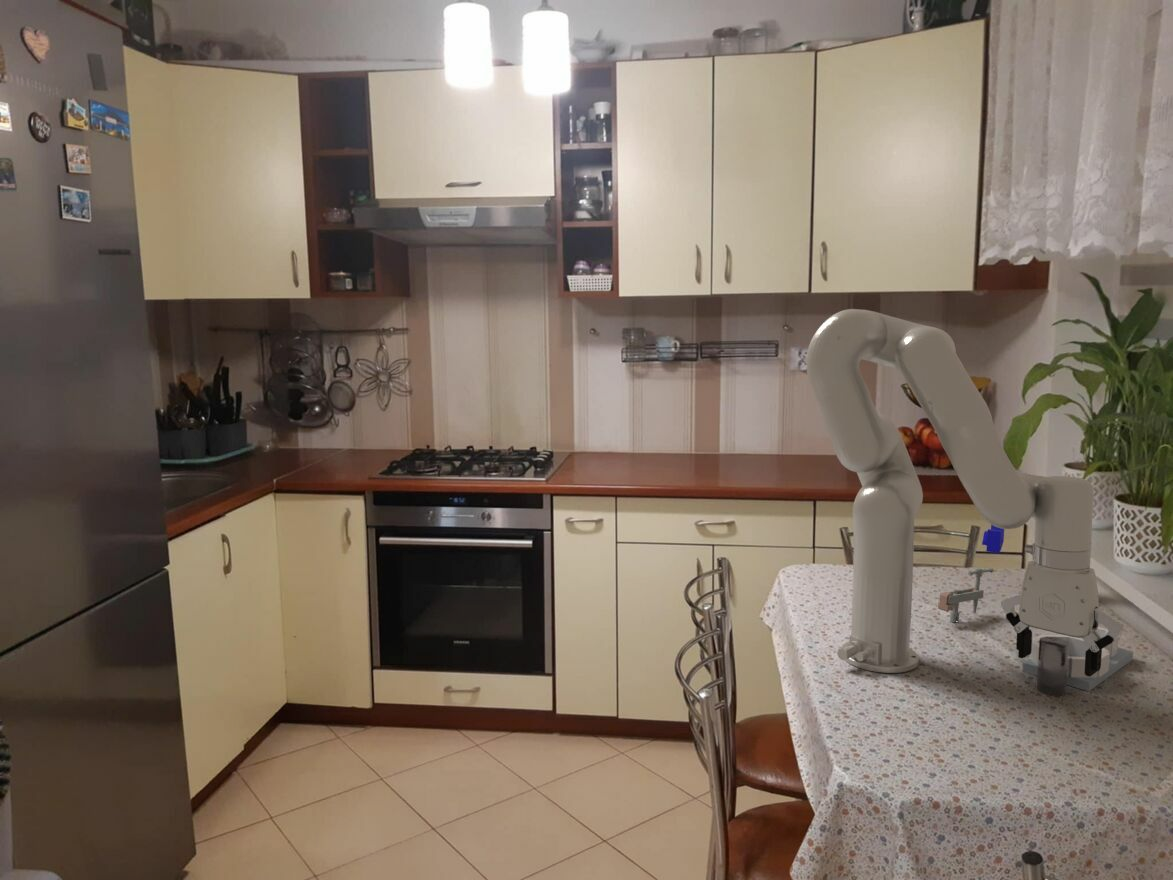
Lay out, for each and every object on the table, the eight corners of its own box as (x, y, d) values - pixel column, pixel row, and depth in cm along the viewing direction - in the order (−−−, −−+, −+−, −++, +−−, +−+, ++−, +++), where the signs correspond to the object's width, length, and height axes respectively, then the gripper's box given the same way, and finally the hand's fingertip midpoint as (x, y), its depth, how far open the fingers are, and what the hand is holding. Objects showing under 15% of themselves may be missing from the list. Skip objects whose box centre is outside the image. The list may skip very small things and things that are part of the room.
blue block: (984, 542, 219) (985, 519, 218) (1003, 544, 217) (1004, 521, 216) (979, 553, 209) (980, 529, 208) (999, 555, 207) (1001, 531, 206)
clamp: (946, 626, 157) (951, 575, 156) (935, 623, 159) (941, 572, 158) (991, 617, 166) (997, 567, 165) (981, 614, 168) (986, 565, 167)
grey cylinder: (1059, 698, 128) (1062, 648, 127) (1031, 689, 132) (1035, 641, 130) (1069, 690, 131) (1073, 642, 130) (1042, 682, 134) (1046, 634, 133)
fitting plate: (1090, 692, 130) (1092, 665, 130) (1019, 671, 138) (1021, 645, 138) (1134, 660, 142) (1136, 634, 142) (1067, 642, 151) (1069, 618, 150)
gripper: (993, 551, 132) (989, 655, 135) (1115, 574, 119) (1109, 688, 121) (1014, 543, 137) (1010, 643, 139) (1134, 563, 124) (1128, 674, 126)
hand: (1056, 664), depth 130 cm, fingers open, 9 cm apart
